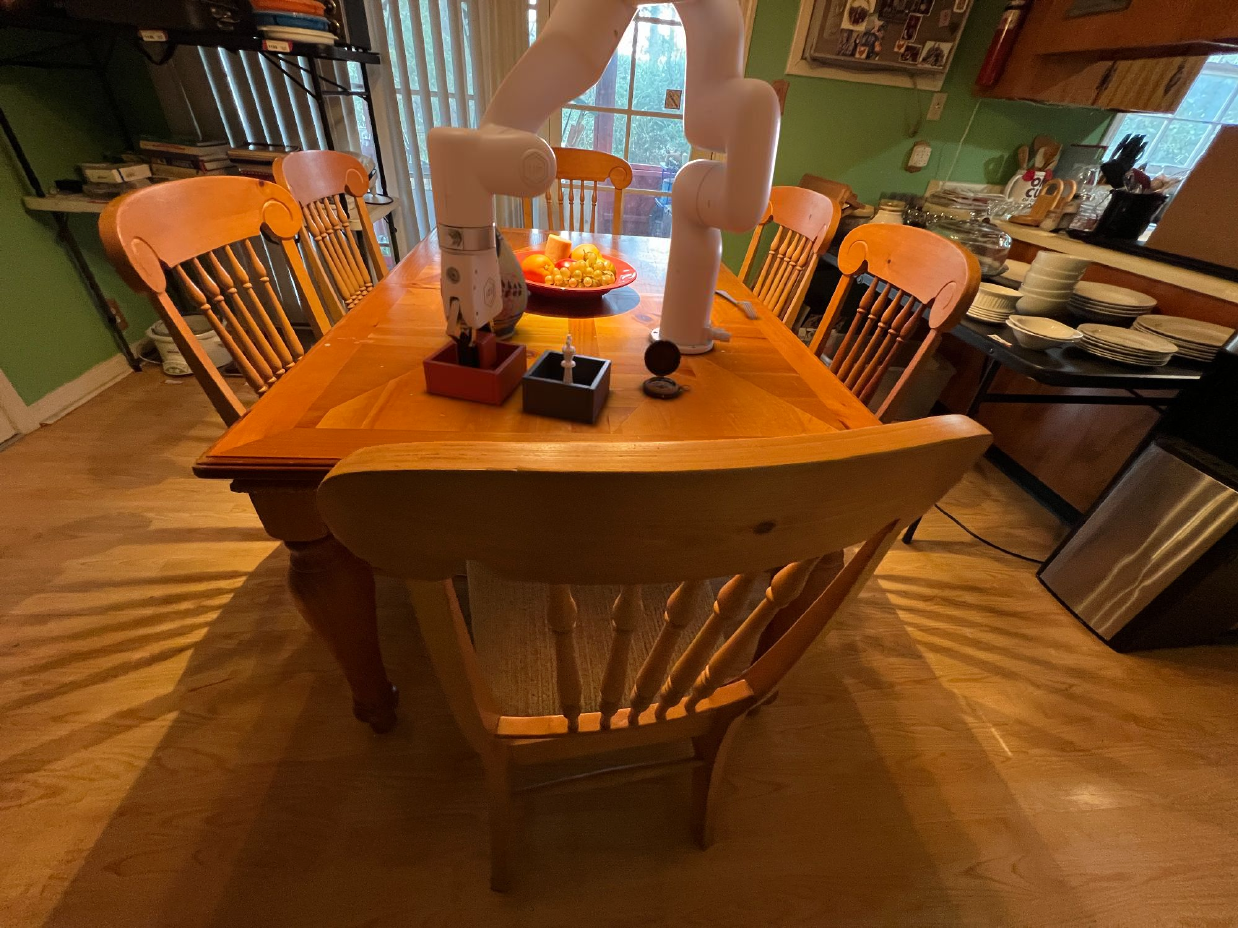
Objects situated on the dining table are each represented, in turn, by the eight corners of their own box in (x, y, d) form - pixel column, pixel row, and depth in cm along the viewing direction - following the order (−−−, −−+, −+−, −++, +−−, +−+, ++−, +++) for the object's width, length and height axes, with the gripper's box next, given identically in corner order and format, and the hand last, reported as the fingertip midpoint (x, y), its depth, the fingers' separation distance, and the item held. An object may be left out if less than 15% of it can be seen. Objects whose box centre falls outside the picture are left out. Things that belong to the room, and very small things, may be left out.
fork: (720, 300, 135) (721, 289, 134) (759, 318, 118) (761, 306, 117) (710, 300, 135) (712, 289, 133) (748, 318, 117) (750, 306, 116)
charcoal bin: (609, 392, 81) (611, 360, 78) (592, 424, 73) (594, 389, 69) (546, 381, 83) (546, 349, 79) (522, 411, 74) (521, 377, 71)
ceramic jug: (440, 322, 100) (417, 144, 83) (517, 317, 106) (511, 150, 88) (453, 356, 88) (430, 155, 70) (540, 348, 93) (537, 161, 76)
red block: (497, 360, 80) (495, 333, 77) (484, 371, 76) (482, 343, 74) (470, 356, 81) (468, 328, 78) (457, 366, 77) (454, 338, 74)
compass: (643, 398, 80) (648, 355, 76) (641, 377, 87) (646, 336, 83) (693, 402, 81) (700, 359, 77) (687, 380, 87) (694, 340, 83)
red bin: (527, 374, 84) (526, 345, 81) (499, 405, 75) (497, 374, 72) (462, 362, 86) (459, 334, 83) (427, 392, 76) (422, 361, 73)
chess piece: (547, 403, 75) (547, 339, 70) (556, 388, 79) (556, 327, 74) (579, 407, 75) (582, 344, 69) (586, 393, 79) (589, 331, 73)
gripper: (463, 254, 61) (476, 390, 71) (516, 230, 74) (520, 347, 85) (406, 245, 62) (426, 381, 72) (469, 223, 75) (478, 340, 86)
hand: (477, 361), depth 78 cm, fingers closed on red block, 4 cm apart
